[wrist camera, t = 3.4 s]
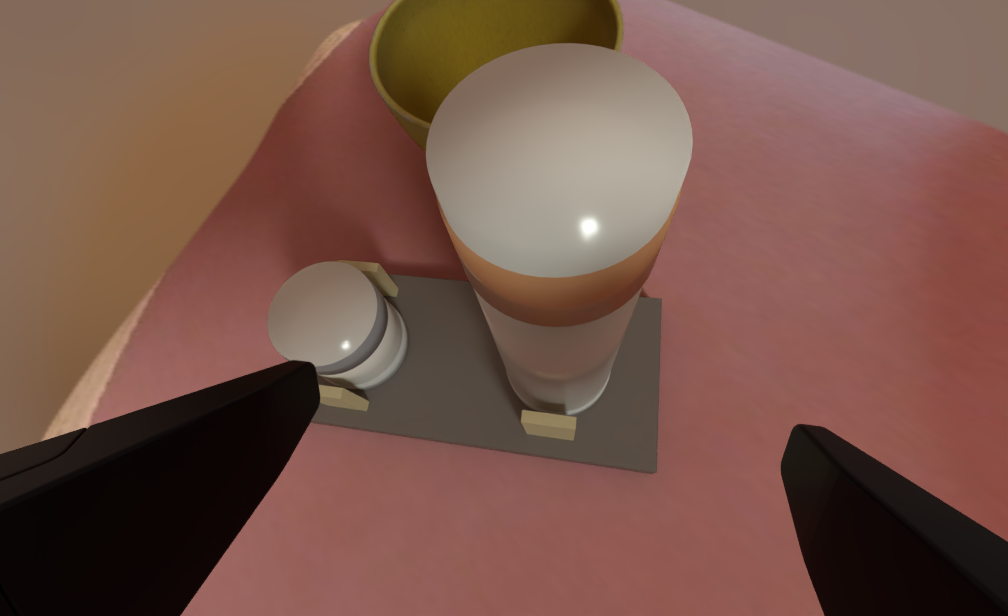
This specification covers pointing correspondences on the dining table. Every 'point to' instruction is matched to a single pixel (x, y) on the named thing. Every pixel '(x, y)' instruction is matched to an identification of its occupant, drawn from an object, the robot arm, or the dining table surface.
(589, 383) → the fuse marked
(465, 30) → the yellow bowl
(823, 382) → the dining table surface
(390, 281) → the fuse block
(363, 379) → the cylinder
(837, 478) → the robot arm
